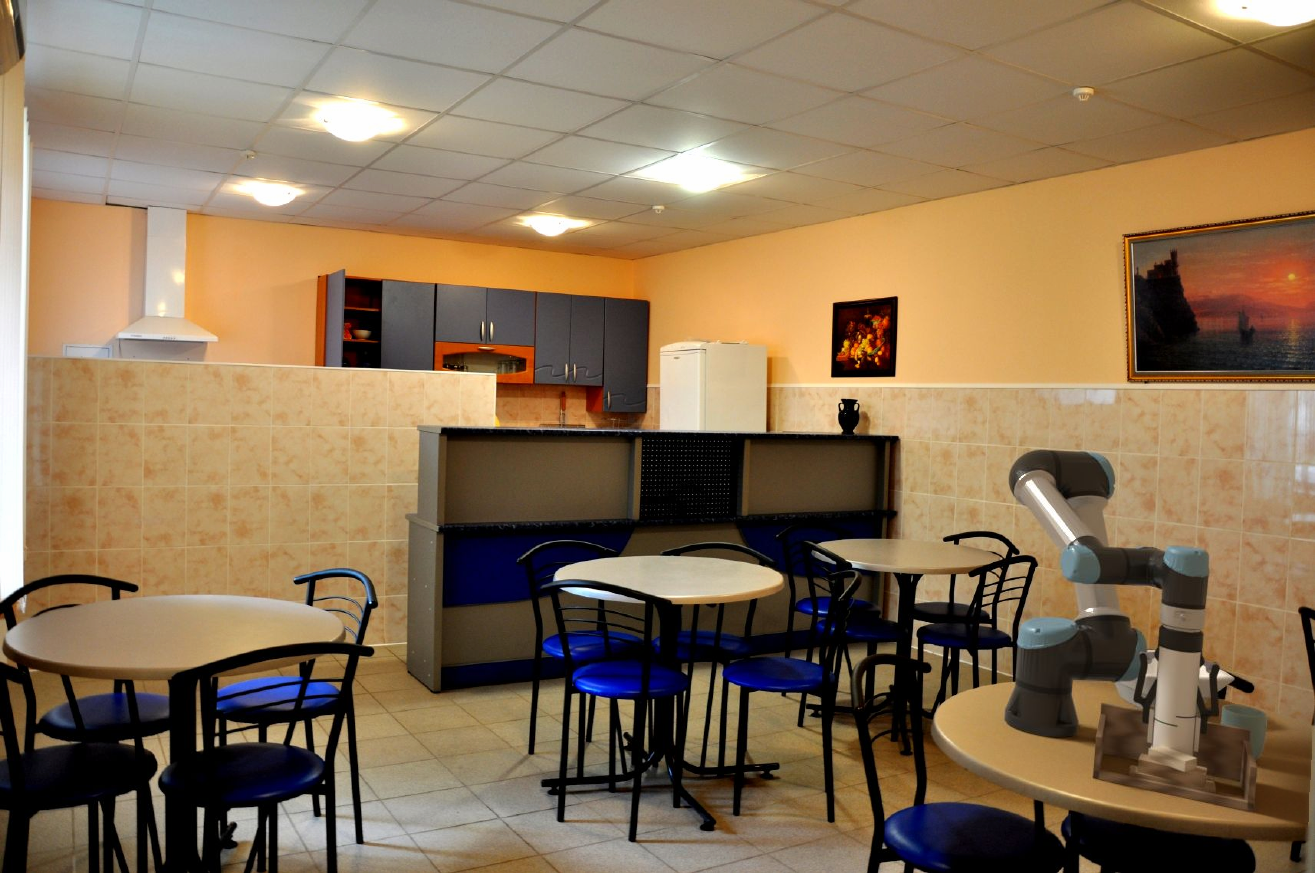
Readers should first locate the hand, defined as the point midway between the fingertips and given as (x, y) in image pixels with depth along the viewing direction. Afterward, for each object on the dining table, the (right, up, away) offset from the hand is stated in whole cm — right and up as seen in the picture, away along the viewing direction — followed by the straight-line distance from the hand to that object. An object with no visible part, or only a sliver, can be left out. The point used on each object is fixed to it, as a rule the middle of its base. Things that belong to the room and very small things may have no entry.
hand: (1172, 744), depth 184 cm
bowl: (+22, -5, +46) cm, 51 cm away
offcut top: (-3, -2, -5) cm, 6 cm away
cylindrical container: (0, -6, 0) cm, 6 cm away
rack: (-1, -6, -2) cm, 6 cm away
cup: (+20, -7, +12) cm, 25 cm away
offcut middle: (-3, -4, -5) cm, 7 cm away
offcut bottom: (-3, -7, -5) cm, 9 cm away
